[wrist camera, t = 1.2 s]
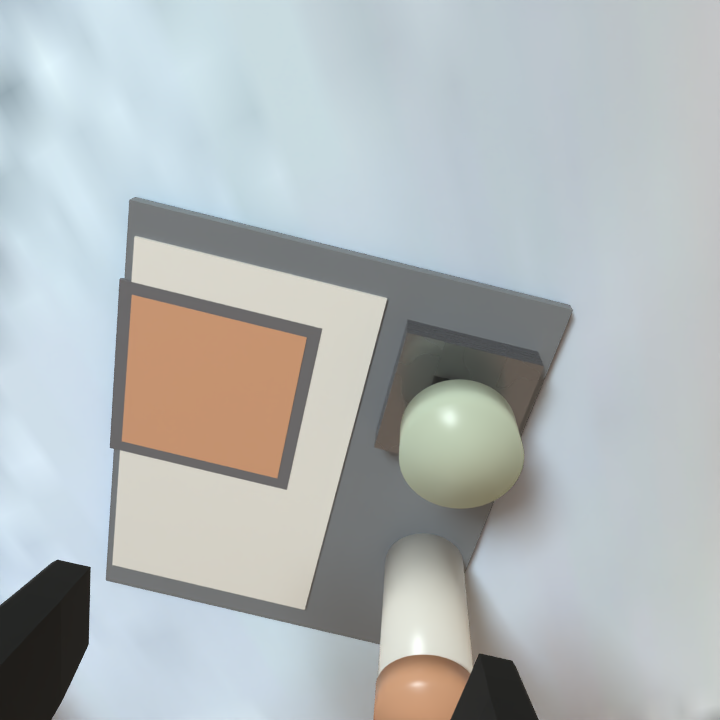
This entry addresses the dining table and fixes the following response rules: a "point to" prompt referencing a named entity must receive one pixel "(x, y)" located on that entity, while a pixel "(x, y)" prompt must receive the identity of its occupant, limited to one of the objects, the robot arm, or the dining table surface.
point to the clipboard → (277, 415)
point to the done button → (460, 444)
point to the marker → (423, 631)
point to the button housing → (454, 372)
